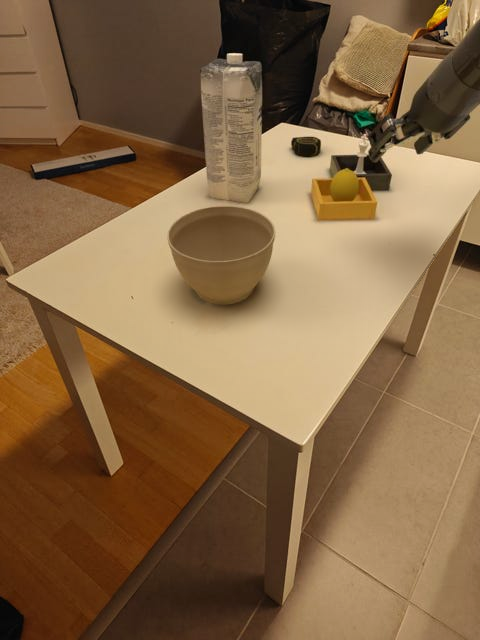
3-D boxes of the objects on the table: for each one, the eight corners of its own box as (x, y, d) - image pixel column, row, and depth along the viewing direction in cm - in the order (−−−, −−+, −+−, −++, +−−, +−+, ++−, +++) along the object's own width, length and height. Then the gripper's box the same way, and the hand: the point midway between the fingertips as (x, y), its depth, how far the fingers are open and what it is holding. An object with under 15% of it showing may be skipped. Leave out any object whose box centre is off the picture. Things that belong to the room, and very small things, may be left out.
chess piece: (359, 186, 101) (367, 140, 95) (342, 178, 104) (348, 134, 98) (373, 179, 104) (381, 134, 97) (356, 172, 107) (363, 128, 100)
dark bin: (376, 171, 108) (379, 154, 106) (388, 192, 100) (392, 174, 97) (329, 172, 108) (331, 155, 106) (337, 193, 100) (339, 176, 97)
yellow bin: (361, 195, 100) (364, 177, 97) (373, 221, 91) (377, 202, 89) (310, 196, 99) (312, 178, 97) (317, 222, 91) (320, 203, 88)
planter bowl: (244, 251, 84) (244, 196, 77) (291, 300, 73) (295, 242, 66) (161, 276, 79) (152, 219, 71) (198, 333, 68) (192, 273, 61)
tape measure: (316, 148, 119) (318, 133, 117) (322, 159, 114) (324, 144, 112) (290, 149, 119) (291, 135, 116) (295, 160, 114) (296, 145, 111)
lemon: (338, 197, 98) (343, 160, 92) (360, 205, 95) (367, 168, 89) (322, 206, 95) (326, 168, 90) (344, 215, 92) (350, 177, 87)
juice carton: (250, 208, 96) (250, 63, 78) (204, 200, 99) (194, 59, 81) (263, 189, 102) (266, 52, 84) (219, 183, 105) (213, 48, 87)
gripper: (490, 58, 64) (424, 127, 79) (399, 70, 61) (350, 139, 76) (508, 107, 63) (438, 167, 78) (416, 121, 60) (363, 180, 75)
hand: (394, 153), depth 77 cm, fingers open, 8 cm apart
